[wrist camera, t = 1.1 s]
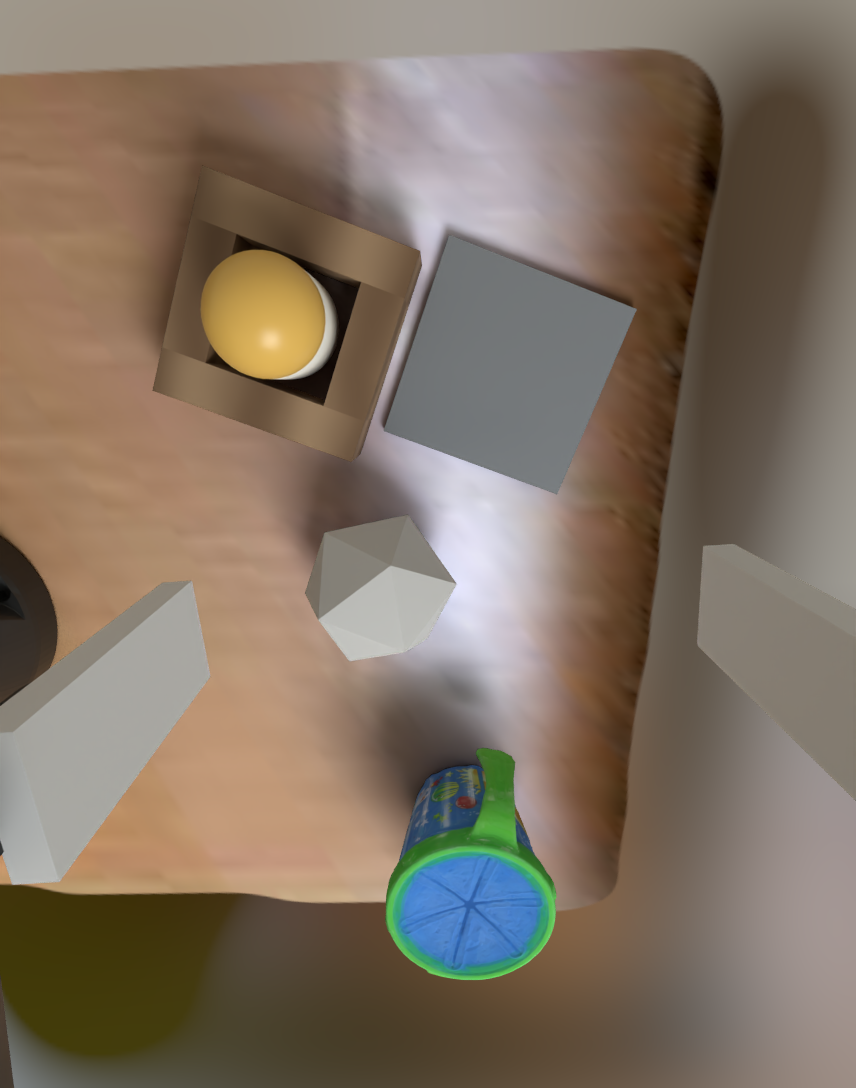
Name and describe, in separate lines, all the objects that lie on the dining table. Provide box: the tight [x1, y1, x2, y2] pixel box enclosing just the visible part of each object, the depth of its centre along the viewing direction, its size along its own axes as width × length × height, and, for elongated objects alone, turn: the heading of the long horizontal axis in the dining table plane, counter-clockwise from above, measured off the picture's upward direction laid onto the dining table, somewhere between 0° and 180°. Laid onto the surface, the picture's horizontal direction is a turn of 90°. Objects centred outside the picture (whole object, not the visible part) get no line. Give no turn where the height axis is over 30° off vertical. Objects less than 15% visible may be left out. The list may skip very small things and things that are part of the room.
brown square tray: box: [153, 165, 422, 462], centre depth 34 cm, size 12×12×4 cm
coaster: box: [384, 235, 637, 494], centre depth 36 cm, size 12×12×1 cm
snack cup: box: [385, 748, 556, 980], centre depth 40 cm, size 16×10×10 cm
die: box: [305, 515, 456, 661], centre depth 36 cm, size 8×9×10 cm
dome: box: [200, 250, 339, 380], centre depth 29 cm, size 6×6×7 cm
